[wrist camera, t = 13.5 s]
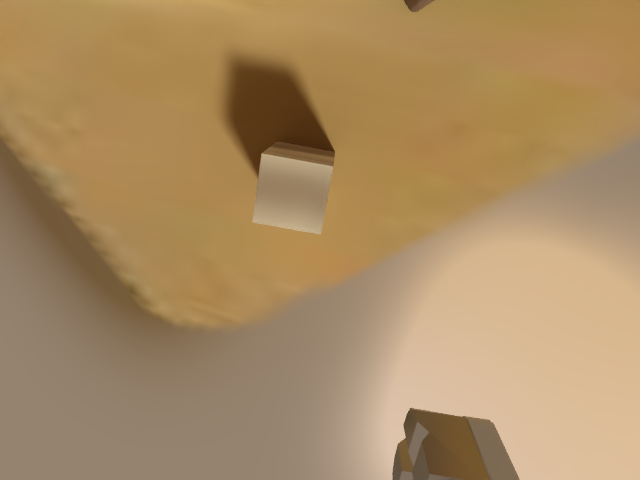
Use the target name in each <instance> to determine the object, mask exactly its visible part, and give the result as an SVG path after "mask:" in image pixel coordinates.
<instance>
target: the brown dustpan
mask: <svg viewBox="0 0 640 480" xmlns="http://www.w3.org/2000/svg"><path fill="white" fill-rule="evenodd" d="M432 1H434V0H405V2H406V4H407V6H408V8H409V9H410V10H411V11H412V12H416V11H419V10H420V9H422V8H423V7H425V6H426V5H428V4H429V3H431V2H432Z"/></svg>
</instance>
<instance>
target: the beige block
mask: <svg viewBox="0 0 640 480" xmlns="http://www.w3.org/2000/svg"><path fill="white" fill-rule="evenodd" d="M334 155H335V151H329V150H324V149H318V148H313V147H307V146H302V145H296V144H291V143H285V142H280V141H277V142H276V143H274V144H273V145H272V146H270V147H269V148H268V149H267V150H265V151H264V152H263V153H262V154H261V162H260V169H259V177H258V185H257V192H256V200H255V207H254V215H253V222H254V223H260V224H265V225H271V226H276V227H282V228H287V229H293V230H298V231H304V232H309V233H315V234H320V235H321V230H322V225H323V219H324V214H325V209H326V203H327V198H328V192H329V187H330V181H331V176H332V171H333V164H334Z"/></svg>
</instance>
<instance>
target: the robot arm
mask: <svg viewBox="0 0 640 480" xmlns="http://www.w3.org/2000/svg"><path fill="white" fill-rule="evenodd" d="M404 430H405V436H406V438H405V439H404V440H402V441H401V442H400V443H398V446H397V450H396V454H395V458H394V466H393V480H519V477H518V475H517V473H516V471H515V468H514V466H513V464H512V462H511V460H510V458H509V456H508V453H507V451H506V449H505V447H504V445H503V443H502V440H501V438H500V436H499V434H498V432H497V430H496V428H495V425H494V424H493V423H492V422H491V421H490V420H486V419H480V418H472V417H466V416H463V417H460V416H454V415H448V414H443V413H437V412H431V411H426V410H420V409H414V408H410V410H409V411H408V413H407V416H406V419H405V422H404Z"/></svg>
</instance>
